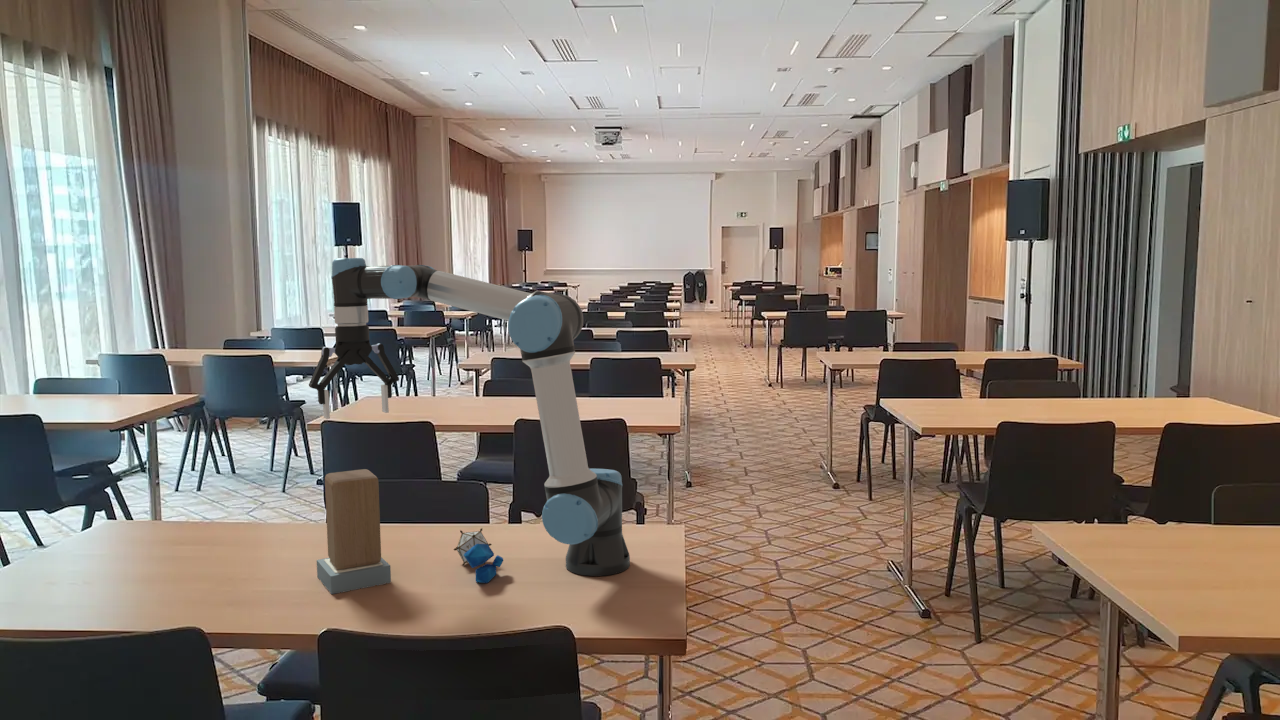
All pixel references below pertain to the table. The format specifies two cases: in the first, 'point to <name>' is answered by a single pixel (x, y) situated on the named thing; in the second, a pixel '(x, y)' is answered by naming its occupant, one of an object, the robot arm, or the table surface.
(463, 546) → the game die
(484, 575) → the blue faceted figurine
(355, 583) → the base
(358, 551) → the wooden block
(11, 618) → the table surface
